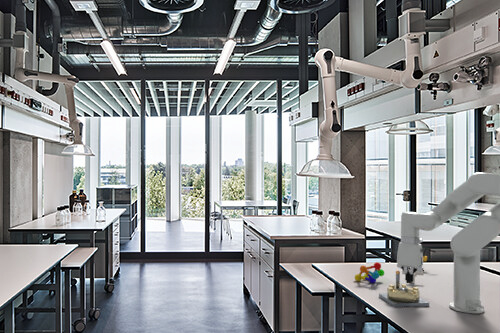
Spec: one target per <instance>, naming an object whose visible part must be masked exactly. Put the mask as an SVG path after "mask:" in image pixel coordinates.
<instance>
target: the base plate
mask: <svg viewBox="0 0 500 333" xmlns="http://www.w3.org/2000/svg"><path fill="white" fill-rule="evenodd" d="M378 298H380V299H381V300H382V301H384V302H386V303H387V302H388V303H387V304H389V305H390V306H392V307H393V306H394V307H393V308H407V307H406V306H429V307H430V302H428V301H427V300H425V299H423V298H421V297H420V299H419V300H418V301H415V302H404V301H397V300H393V299H390V298H389V297H387V293H378ZM404 306H405V307H404Z"/></svg>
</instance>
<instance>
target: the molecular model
mask: <svg viewBox="0 0 500 333" xmlns="http://www.w3.org/2000/svg"><path fill="white" fill-rule="evenodd" d="M371 269H374V271H373V272H372V271H371ZM359 271H360V272H359V274H358V273H357V274H355V275H354V280H355V281H356V282H360V281H363V280H364V281H369V283H371V284H375V283H376V282H377V279H379V277H383V276H384V275H385V271H384V269H382V265H381V263H380V262H378V261H376V262H375V263H374V264H373V265H370V266H365V265H361V266H360V267H359ZM363 274H364V275H363Z"/></svg>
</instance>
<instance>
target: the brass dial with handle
mask: <svg viewBox="0 0 500 333" xmlns="http://www.w3.org/2000/svg"><path fill="white" fill-rule="evenodd" d="M400 275H401V272H400V271H399V270H396V271H395V284H389V285H388V287H387V290H386V291H387V292H386V294H387V297H389V298H390V299H393V300H397V301H404V302H415V301H418V300H419V299H420V298H421V296H420V295H421V294H420V290H419V287H417V286H413V287H410V286H409V287H407V284H403V283H402V284H401V282H400V281H401V280H400V278H401V276H400ZM400 284H401V285H400Z"/></svg>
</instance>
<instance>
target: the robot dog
mask: <svg viewBox="0 0 500 333" xmlns="http://www.w3.org/2000/svg"><path fill="white" fill-rule="evenodd" d="M427 250H428V251H430V252H432V253H436V252H437V251H436V250H433V249H431V248H428V247H427V246H426V247H425V248H424V250H423V251H422V253H423V262H427V260H428V256H427V255H425V253H426V251H427ZM410 269H411V267H409V270H410ZM422 272H425V269H424V270H422Z"/></svg>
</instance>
